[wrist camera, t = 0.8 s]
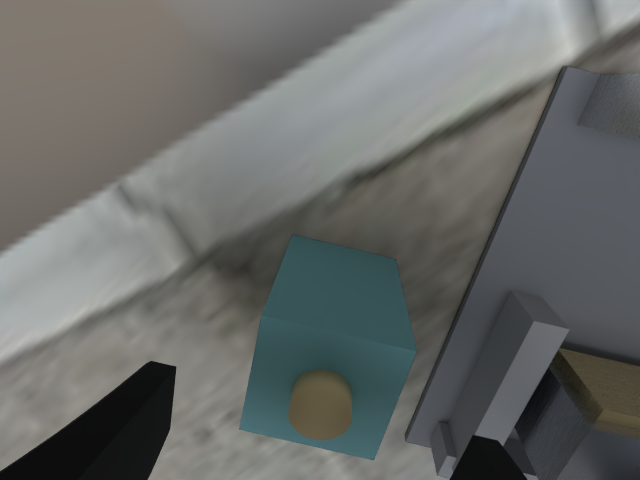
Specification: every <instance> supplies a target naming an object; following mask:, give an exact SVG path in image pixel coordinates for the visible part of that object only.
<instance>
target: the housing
mask: <svg viewBox="0 0 640 480" xmlns="http://www.w3.org/2000/svg"><path fill="white" fill-rule="evenodd" d="M416 353H417V349H416V345H415V340H414V336H413V332H412V327H411V323H410V319H409V315H408V310H407V306H406V302H405V297H404V293H403V289H402V285H401V280H400V276H399V272H398V267H397V263H396V259H393V258H389V257H385V256H380V255H376V254H372V253H368V252H364V251H359V250H355V249H351V248H347V247H343V246H338V245H334V244H330V243H326V242H321V241H317V240H313V239H309V238H305V237H300V236H296V235H292V237H291V240H290V242H289V245H288V248H287V250H286V253H285V255H284V258H283V261H282V263H281V266H280V269H279V271H278V274H277V276H276V279H275V282H274V284H273V287H272V289H271V292H270V295H269V297H268V300H267V303H266V305H265V308H264V310H263V313H262V316H261V321H260V326H259V331H258V336H257V341H256V347H255V352H254V357H253V362H252V367H251V372H250V377H249V382H248V387H247V392H246V397H245V402H244V407H243V413H242V418H241V423H240V428H239V429H240V430H244V431H249V432H253V433H257V434H262V435H266V436H270V437H275V438H279V439H283V440H288V441H292V442H296V443H301V444H305V445H309V446H314V447H318V448H323V449H327V450H331V451H336V452H340V453H344V454H349V455H353V456H357V457H362V458H366V459H370V460H374V459H375V456H376V454H377V451H378V449H379V446H380V444H381V441H382V439H383V436H384V434H385V431H386V429H387V426H388V424H389V421H390V419H391V416H392V414H393V411H394V409H395V406H396V404H397V401H398V399H399V396H400V394H401V391H402V388H403V386H404V383H405V381H406V378H407V376H408V373H409V371H410V368H411V366H412V363H413V361H414V358H415V356H416Z"/></svg>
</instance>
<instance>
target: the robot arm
mask: <svg viewBox="0 0 640 480" xmlns="http://www.w3.org/2000/svg"><path fill="white" fill-rule="evenodd" d="M175 375H176V367H175V366H171V365H167V364H162V363H158V362H154V361H150V362H148V363H146V364H145V365H144V366H143V367H141V368H140V369H139V370H138V371H136V372H135V373H134V374H133V375H132V376H130V377H129V378H128V379H127V380H125V381H124V382H123V383H122V384H120V385H119V386H118V387H117V388H115V389H114V390H113V391H112V392H110V393H109V394H108V395H107V396H105V397H104V398H103V399H101V400H100V401H99V402H98V403H96V404H95V405H94V406H92V407H91V408H90V409H88V410H87V411H86V412H84V413H83V414H82V415H80V416H79V417H78V418H76V419H75V420H74V421H72V422H71V423H70V424H68V425H67V426H66V427H64V428H63V429H61V430H60V431H59V432H57V433H56V434H54V435H53V436H52V437H50V438H49V439H47V440H46V441H44V442H43V443H41V444H40V445H38V446H37V447H36V448H34V449H33V450H31V451H30V452H28V453H27V454H25V455H24V456H22V457H21V458H20V459H18V460H17V461H15V462H14V463H12V464H11V465H9V466H8V467H6V468H5V469H3V470H2V471H0V480H147V479H148V478H149V476H150V474H151V472H152V469H153V467H154V465H155V463H156V460H157V458H158V456H159V454H160V451H161V449H162V447H163V444H164V442H165V440H166V437H167V435H168V433H169V430H170V425H171V415H172V405H173V395H174V385H175ZM450 480H528V479H527V478H526V476H525V475H524V474H523V472H522V471H521V470H520V468H519V467H518V466H517V464H516V463H515V462H514V460H513V459H512V458H511V457H510V455H509V454H508V453H507V451H506V450H505V449H504V447H503V446H502V445H501V444H500V442H499V441H498V440H494V439H490V438H486V437H481V436H477V435H473V436H472V437H471V439H470V441H469V443H468V445H467V447H466V449H465V451H464V453H463V455H462V457H461V459H460V460H459V462H458V464H457V466H456V468H455V470H454V472H453V474H452V476H451V478H450Z"/></svg>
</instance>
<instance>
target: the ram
mask: <svg viewBox="0 0 640 480" xmlns="http://www.w3.org/2000/svg"><path fill="white" fill-rule="evenodd" d="M514 428H515V430H516V432H517V434H518V436H519V438H520V441H521V443H522V445H523V447H524V449H525V451H526V454H527V456H528V458H529V460H530V462H531V464H532V467H533V469H534V471H535V473H536V475H537V478H538V480H640V367H639V366H635V365H631V364H626V363H622V362H618V361H614V360H609V359H605V358H601V357H597V356H592V355H588V354H584V353H580V352H575V351H571V350H567V349H563V348H559V349H558V351H557V352H556V354H555V356H554V358H553V359H552V361H551V363H550V365H549V366H548V368H547V370H546V372H545V373H544V375H543V377H542V379H541V380H540V382H539V384H538V386H537V387H536V389H535V391H534V393H533V394H532V396H531V398H530V400H529V401H528V403H527V405H526V407H525V408H524V410H523V412H522V414H521V415H520V417H519V419H518V421H517V422H516V424H515V426H514Z"/></svg>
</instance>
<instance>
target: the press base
mask: <svg viewBox="0 0 640 480" xmlns="http://www.w3.org/2000/svg"><path fill="white" fill-rule="evenodd" d="M559 348H563V349H567V350H571V351H575V352H580V353H584V354H588V355H592V356H597V357H601V358H605V359H609V360H614V361H618V362H622V363H626V364H631V365H635V366H639V367H640V74H597V73H593V72H589V71H585V70H581V69H577V68H573V67H568V66H566V67H563V68H562V71H561V73H560V75H559V78H558V80H557V82H556V85H555V87H554V89H553V92H552V94H551V96H550V99H549V101H548V103H547V106H546V108H545V110H544V113H543V115H542V117H541V120H540V122H539V124H538V127H537V129H536V131H535V134H534V136H533V138H532V141H531V143H530V145H529V148H528V150H527V152H526V155H525V157H524V159H523V162H522V164H521V166H520V169H519V171H518V173H517V176H516V178H515V180H514V183H513V185H512V187H511V190H510V192H509V194H508V197H507V199H506V201H505V204H504V206H503V208H502V211H501V213H500V215H499V218H498V220H497V222H496V225H495V227H494V229H493V232H492V234H491V236H490V239H489V241H488V243H487V246H486V248H485V250H484V253H483V255H482V257H481V260H480V262H479V264H478V267H477V269H476V271H475V274H474V276H473V278H472V281H471V283H470V285H469V288H468V290H467V292H466V295H465V297H464V299H463V302H462V304H461V306H460V309H459V311H458V313H457V316H456V318H455V320H454V323H453V325H452V328H451V330H450V332H449V335H448V337H447V339H446V342H445V344H444V346H443V349H442V351H441V353H440V356H439V358H438V360H437V363H436V365H435V367H434V370H433V372H432V374H431V377H430V379H429V381H428V384H427V386H426V388H425V391H424V393H423V395H422V398H421V400H420V402H419V405H418V407H417V409H416V412H415V414H414V416H413V419H412V421H411V423H410V426H409V428H408V430H407V433H406V435H405V441H406V442H408V443H412V444H417V445H421V446H425V447H430V448H432V453H433V458H434V462H435V467H436V472H437V476H441V477H445V478H449V479H450V478H451V476H452V474H453V472H454V470H455V468H456V466H457V464H458V462H459V460H460V459H461V457H462V455H463V453H464V451H465V449H466V447H467V445H468V443H469V441H470V439H471V437H472V436H473V435H477V436H481V437H486V438H490V439H494V440H498V441H499V442H500V444H501V445H502V446H503V447H504V449H505V450H506V451H507V453H508V454H509V455H510V457H511V458H512V459H513V460H514V462H515V463H516V464H517V466H518V467H519V468H520V470H521V471H522V472H523V474H524V475H525V476H526V478H527V479H528V480H538V478H537V475H536V473H535V471H534V469H533V467H532V464H531V462H530V460H529V458H528V456H527V454H526V451H525V449H524V447H523V445H522V443H521V441H520V438H519V436H518V434H517V432H516V430H515V428H514V426H515V424H516V422H517V421H518V419H519V417H520V415H521V414H522V412H523V410H524V408H525V407H526V405H527V403H528V401H529V400H530V398H531V396H532V394H533V393H534V391H535V389H536V387H537V386H538V384H539V382H540V380H541V379H542V377H543V375H544V373H545V372H546V370H547V368H548V366H549V365H550V363H551V361H552V359H553V358H554V356H555V354H556V352H557V351H558V349H559Z"/></svg>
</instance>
